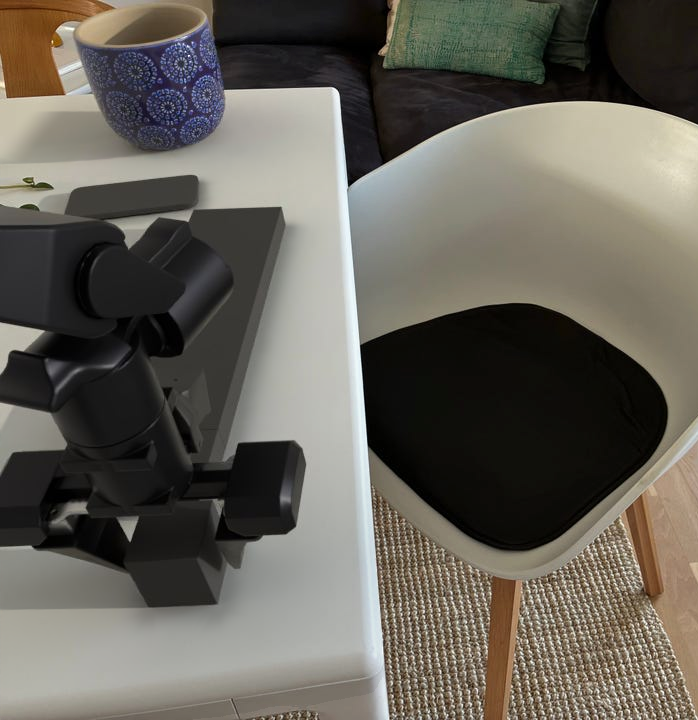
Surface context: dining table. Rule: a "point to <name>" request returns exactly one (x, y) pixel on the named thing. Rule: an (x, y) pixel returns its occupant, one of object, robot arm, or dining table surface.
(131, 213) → the phone
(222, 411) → the base pad
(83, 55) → the planter
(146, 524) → the pad block
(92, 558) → the robot arm
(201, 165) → the dining table surface
